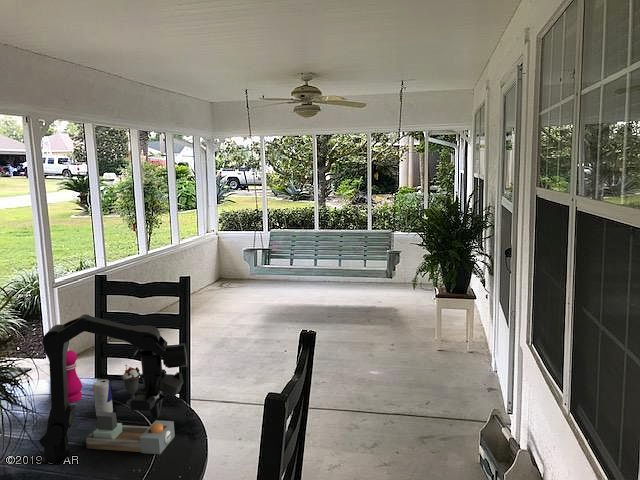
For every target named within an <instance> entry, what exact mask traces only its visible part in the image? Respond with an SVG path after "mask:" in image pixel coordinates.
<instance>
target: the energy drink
mask: <svg viewBox="0 0 640 480" xmlns="http://www.w3.org/2000/svg"><path fill="white" fill-rule="evenodd" d="M92 389H93V398H94V407H95V414H96V415H95V416H96V417H97V415H98V414H99V413H100V412H112V413H114V408H113V406H114V405H113V397H112V389H111V382H110V380H109V379H106V378H104V379H103V378H102V379H98V380H96V381H94V382H93V385H92Z"/></svg>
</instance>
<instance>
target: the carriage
mask: <svg viewBox="0 0 640 480" xmlns="http://www.w3.org/2000/svg"><path fill="white" fill-rule="evenodd" d="M96 423H97V427H98V428H97V427H96V428H97V429H96V428H95V429H96V430H95V429H94V430H95V431H94V430H93V431H94V432H93V431H92V432H93V435H94V438H104V439H115V438H116V437H117V436H118V435H119V434H120V433H121V432H122V431H123V430H122V425H123V423H122V422H118V420H117V412H113V413H112V412H100V413H99V414H98V415H97V416H96Z"/></svg>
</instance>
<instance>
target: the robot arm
mask: <svg viewBox="0 0 640 480" xmlns="http://www.w3.org/2000/svg"><path fill="white" fill-rule="evenodd" d="M84 332H85V333H90V334H94V335H97V336H98V335H99V336H103V337H107V338H111V339H115V340H118V341H119V340H120V341H124V342H126V343H129V344H130V345H132V346H133V347H134V348H137V350H136V351H135V352H134V354H133V359H140V361H141V362H140V364H141V374H140V376H139V380H142V384H143V386H142V387H141V388H140V391H141V392H142V393H145V394H137V395H136V396H135V398H134V399H133V400H132V401H131V402H130V403H129V404H130V405H129V409H130V411H145V412H146V411H148V412H150V414H151V415H152V417H153V419H159V417H160V414H161V413H160V412H161V409H162V404H163V399H165V397H166V396H167V395H169V396H171V397H176V396H177V395H178V393H179V392H180V391H181V389H182V385H183V384H184V378H183V374H182V372H179V371H177V372H176V373H175V374H172V373H171V374H170V373H169V374H167V371H166V369H163V366H165V368H167V369H172V368H173V369H174V368H181V367H182V368H183V367H188V351H187V349H186V348H187V347H186V343H185V342H184V343H183V342H182V343H178V344H170V345H168V341H167V340H166V339H164V337H163V336H161V332H160V330H159V329H158V328H157V327H156V326H153V325H144V324H143V325H142V324H141V325H139V324H138V325H129V324H124V323H120V322H116V321H112V320H108V319H105V318H100V317H96V316H92V315H90V314H82V315H80V316H78V317H77V318H74V319H72V320H69V321H68V322H65V323H64V324H55V325H53V326H52V327H51V328H50V329H49V330H48V331H47V332H46V333H45V334H44V335H43V337H42V341H41V342H42V346H43V350H44V354H45V356H46V357H47V359H48V362H49V365H48V366H49V383H50V384H49V386H50V402H51V404H50V405H51V406H50V410H49V415H48V418H47V423H46V425H47V426H46V428H45V430H44V432H43V434H42V435H41V437H40V438H39V440H38V443H39V444H40V446H41V447H43V452H44V453H43V454H44V457H43V458H41V460H40V463H43V464H55V465H60V464H62V463H63V462H64V461H65V460H66V459H68V458H69V457H70V456H71V455H72V454H73V453H74V449H70V445H69V439H68V435H67V434H68V432H69V430H70V428H71V427H72V425H73V423H74V422H75V420H76V418H77V415H76V411H75V410H76V404H72V405H71V404H70V403H69V402H68V393H67V368H66V354H67V350H68V347H69V345H70V342H71V341H70V340H72V339H74V338H75V337H77V336H79V335H80V334H82V333H84ZM162 363H163V364H162Z"/></svg>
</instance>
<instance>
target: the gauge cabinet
mask: <svg viewBox="0 0 640 480" xmlns="http://www.w3.org/2000/svg"><path fill="white" fill-rule="evenodd" d="M157 423H161V424H163V431H162V432H161V434H160V433H151V426H152V425H154V424H157ZM174 423H175V422H174V420H172V421H171V420H157V419H156V420H154V421H153V423H152V424H151V425H150V426H148V427H149V428H148V429H147V430H146V431H145V432H144V434H143V435H142V436H141V437H140V445H141V452H140V453H141V454H150V455H151V454H153V455H161V454H162V453H163V452H164V450H166V448H167V446H168V445H169V444H170V443H171V442H172V440H173V439H174V438H175V436H176V435H175V433H176V432H175V424H174Z"/></svg>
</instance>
